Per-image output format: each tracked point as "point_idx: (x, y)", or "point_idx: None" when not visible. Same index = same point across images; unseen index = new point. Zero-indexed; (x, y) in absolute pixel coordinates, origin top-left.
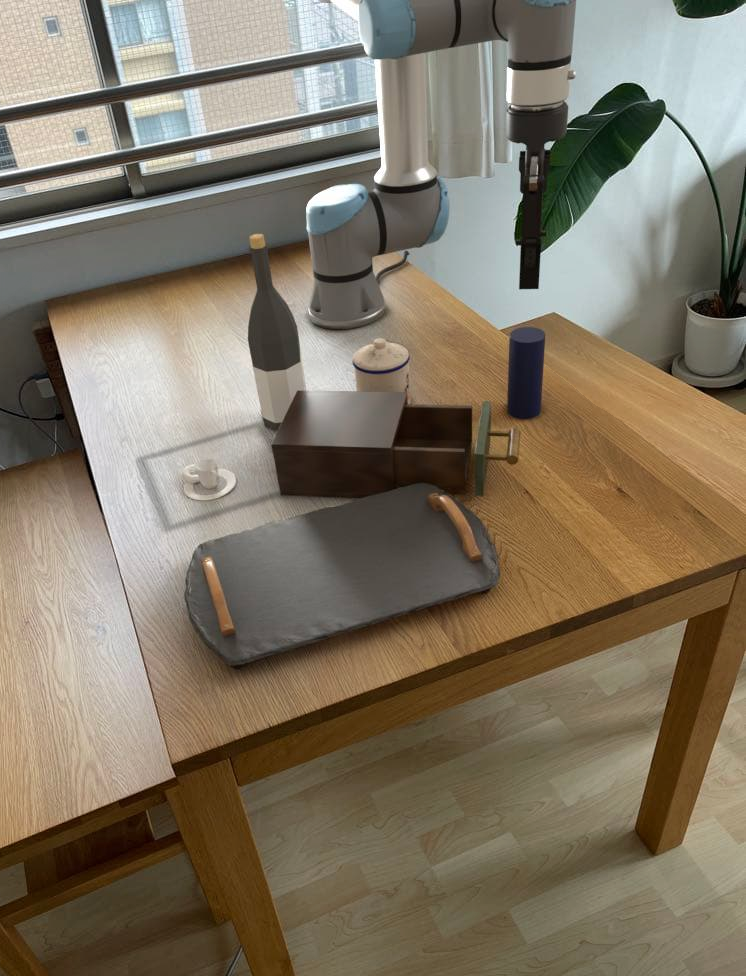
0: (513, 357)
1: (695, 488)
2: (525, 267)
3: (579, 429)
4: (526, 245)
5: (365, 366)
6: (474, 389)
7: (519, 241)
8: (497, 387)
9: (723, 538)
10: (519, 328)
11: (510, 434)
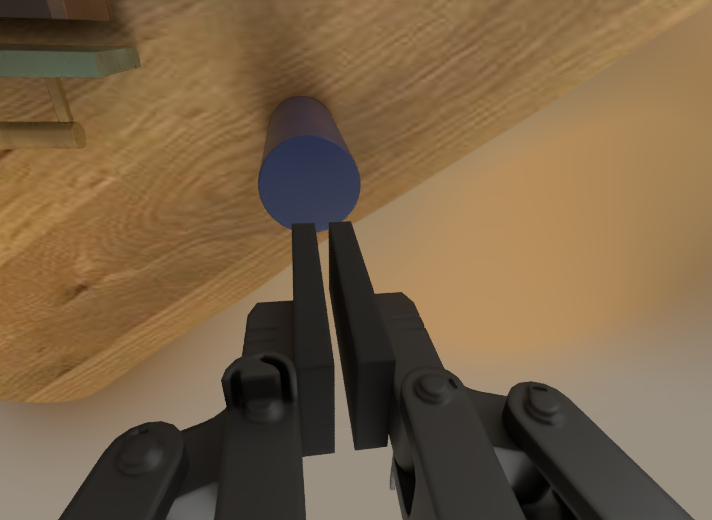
0: (272, 138)
1: (123, 367)
2: (253, 311)
3: (248, 229)
4: (220, 417)
5: None
6: (389, 10)
7: (242, 394)
8: (396, 68)
9: (20, 391)
10: (349, 163)
11: (44, 128)
